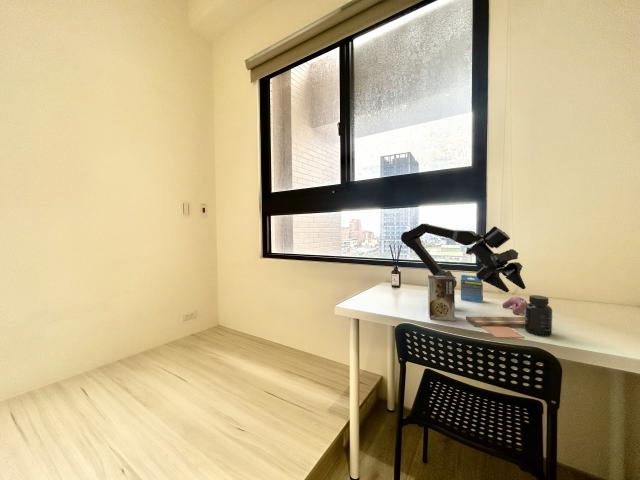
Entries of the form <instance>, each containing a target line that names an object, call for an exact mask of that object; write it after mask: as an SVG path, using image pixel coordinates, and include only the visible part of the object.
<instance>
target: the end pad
mask: <svg viewBox="0 0 640 480" xmlns="http://www.w3.org/2000/svg"><path fill="white" fill-rule="evenodd" d="M482 327H483V328H482V329H484V330H485V331H487V332H488V333H489V334H490V335H492V336H493V337H494V338H501V339H502V338H503V339H504V338H505V339H507V338H508V339H510V338H511V339H515V338H516V339H525V338H526V337H525V336H524V335H522V334H521V333H520V332H518V331H516V330H514V329H513V328H512V327H505V326H482Z"/></svg>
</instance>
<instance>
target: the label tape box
mask: <svg viewBox="0 0 640 480" xmlns="http://www.w3.org/2000/svg"><path fill="white" fill-rule="evenodd" d="M460 300H461V301H466V302H474V303H481V304H482V303H483V301H484V283H483V280H480V281H479V279H478V278H477V277H476V275H470V274H469V275H467V274H460Z"/></svg>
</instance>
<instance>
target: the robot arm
mask: <svg viewBox="0 0 640 480" xmlns="http://www.w3.org/2000/svg"><path fill="white" fill-rule="evenodd" d="M425 234H429V235H434V236H437V237H442V238H447V239H450V240H452V241H454V242H455V243H458V244H461V245H462V246H470V245H472V246H471V247H466V252H465V254H466V255H470V256H471V255H474V256H475V257H476V259H477V260H478V261H479V263H478V264H479V266H482V267H481V268H480V269H479V270H478V271H477V272H476V273H475V274H476V275H475V276H476V277H477V278H478V279H479V281H480V280H482V283H483V282H484V283H487V284H488V285H491V286H493V287H495V288H497V289H499V290H500V291H503V292H505V293H509V292H510V289H509V288H508V286H507V285H506V283H505V282H504V281H503V279H502V278H501V276H500V274H501V275H502V276H504V277H505V279H506V280H508V281H509V282H511V283H513V284H514V285H515V286H517V287H518V288H520V289H522V290H526V284H525V283H524V281H523V280H524V279H523V278H522V276H521V271H522V268H523V265H522V264H521V263H520V262H518V261H514V262H510V261H513V260H518V259H519V257H518V256H519V252H517V251H516V250H515V249H513V248H510V249H508V250H506V251H503V252H500V253H497V252H494V251H493V250H492V249H499V248H500V247H502V246H503V245H504V244H505V243H506V242H508V241H510V240H511V237H510V236H509V234H508V233H506V232H505V231H503V230H502V229H500V228H499V227H497V225H496V226H493V227H492V228H490V230H489V231H487V232H486V233H485V234H477V233H476V232H475V231H472V230H461V229H460V230H459V229H450V228H447V227H442V226H436V225H433V224H428V223H421V224H419V225H418V226H416V227H413V228H412V229H409V230H407V231H404V232H402V234H401V236H400V240H401V242H402V243H403V244H404V246H406V247H407V248H409V249H411V250H412V251H414V253H415V254H416V256H417V257H418V258H419V260H420V261H421V262H422V263H423V264H424V265H425V267H426V268H427V269H428V271H429V272H430V273H431V275H432V276H452V277H453V278H454V289H455V288H456V287H457V283H458V282H457V277H456V276H454V275H453V274H452V272H451V271H450V270H447V271H445V270H444V269H443V268H442V267H441V266H440V264H438V262H437V261H436V260H435V259H434V257H433V256H432V255H431V254H430V253H429V251H428V250H427V249H426V248H425V247H424V245H423V244H422V240H421V238H422V236H424V235H425ZM477 242H478V243H477Z"/></svg>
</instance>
